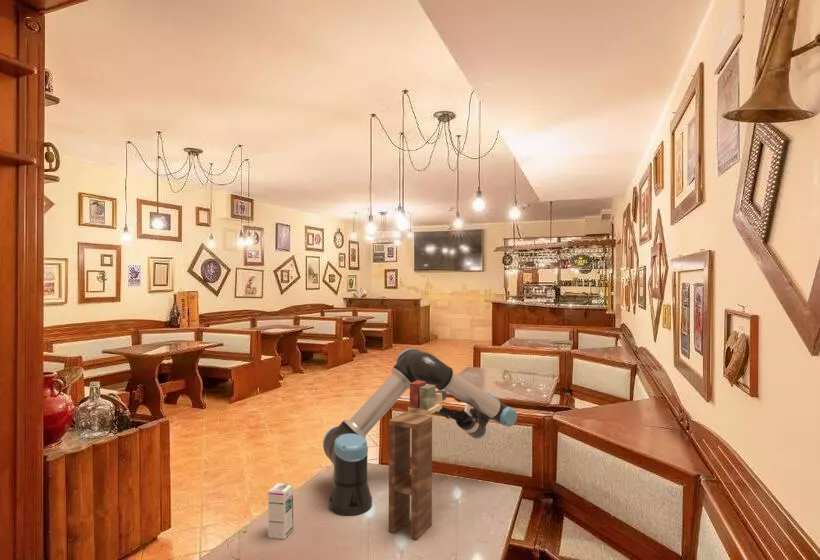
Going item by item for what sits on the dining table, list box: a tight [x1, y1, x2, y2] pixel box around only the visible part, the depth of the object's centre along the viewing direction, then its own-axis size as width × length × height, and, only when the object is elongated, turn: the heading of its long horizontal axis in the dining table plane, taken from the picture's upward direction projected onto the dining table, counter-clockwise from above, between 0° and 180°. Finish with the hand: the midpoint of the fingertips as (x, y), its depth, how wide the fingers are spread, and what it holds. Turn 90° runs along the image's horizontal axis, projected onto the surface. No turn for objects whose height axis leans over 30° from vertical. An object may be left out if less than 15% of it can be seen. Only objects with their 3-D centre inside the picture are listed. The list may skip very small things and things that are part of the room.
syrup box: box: [267, 482, 294, 540], centre depth 146 cm, size 6×6×14 cm
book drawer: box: [407, 380, 447, 416], centre depth 163 cm, size 8×19×10 cm, turn 152°
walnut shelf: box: [388, 412, 433, 541], centre depth 150 cm, size 10×10×35 cm
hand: (449, 405), depth 178 cm, fingers open, 13 cm apart
